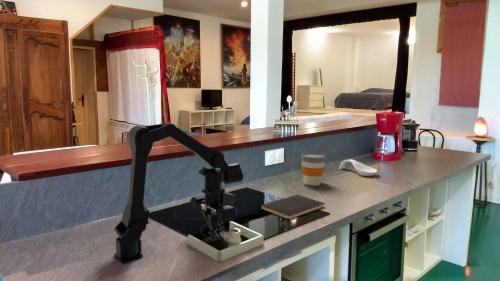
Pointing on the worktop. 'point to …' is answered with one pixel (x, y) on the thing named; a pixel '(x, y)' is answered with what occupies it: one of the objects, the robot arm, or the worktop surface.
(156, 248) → the worktop surface
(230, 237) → the valve
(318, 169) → the reusable coffee cup
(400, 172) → the worktop surface
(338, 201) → the worktop surface
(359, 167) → the spoon rest
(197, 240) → the u-shaped bracket
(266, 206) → the hardcover book
